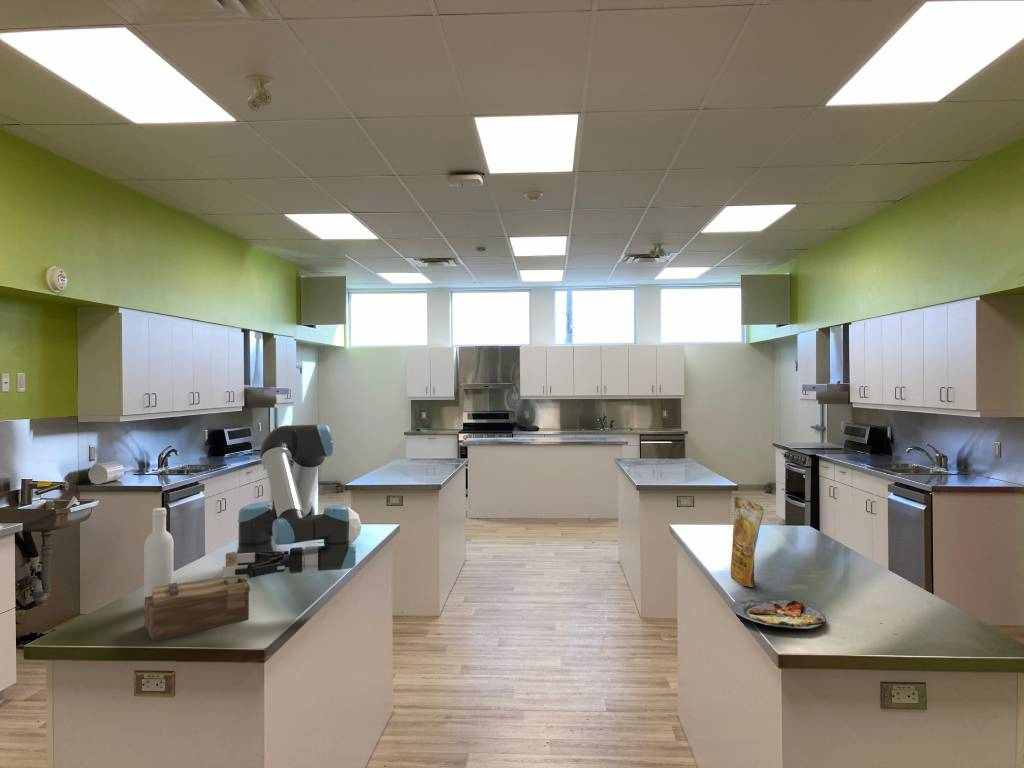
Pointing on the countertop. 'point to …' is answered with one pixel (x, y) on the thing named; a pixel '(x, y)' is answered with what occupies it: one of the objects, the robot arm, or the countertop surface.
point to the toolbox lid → (196, 590)
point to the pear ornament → (353, 526)
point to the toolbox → (194, 615)
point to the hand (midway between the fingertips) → (227, 565)
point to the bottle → (158, 554)
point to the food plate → (789, 609)
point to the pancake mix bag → (745, 540)
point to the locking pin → (231, 561)
